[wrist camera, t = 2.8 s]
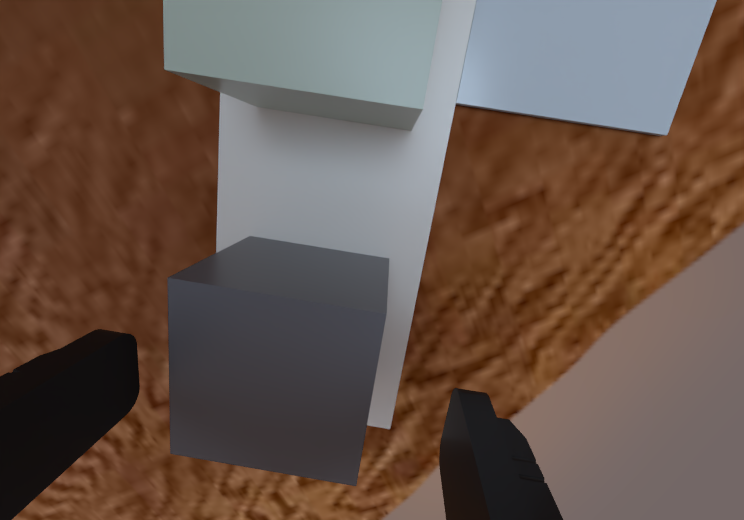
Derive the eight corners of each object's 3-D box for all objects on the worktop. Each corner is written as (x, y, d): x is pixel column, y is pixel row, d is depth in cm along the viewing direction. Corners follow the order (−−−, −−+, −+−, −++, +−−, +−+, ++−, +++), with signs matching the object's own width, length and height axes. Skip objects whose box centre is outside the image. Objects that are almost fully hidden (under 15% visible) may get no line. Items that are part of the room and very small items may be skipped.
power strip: (374, 461, 21) (369, 542, 16) (243, 438, 21) (203, 512, 16) (475, -63, 14) (513, -171, 9) (274, -92, 14) (216, -213, 9)
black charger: (263, 332, 17) (170, 453, 10) (271, 225, 16) (168, 277, 8) (372, 350, 17) (356, 485, 10) (390, 244, 15) (386, 313, 8)
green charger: (279, 115, 14) (164, 69, 7) (290, -40, 13) (158, -296, 6) (408, 136, 14) (423, 109, 7) (434, -19, 13) (486, -251, 6)
